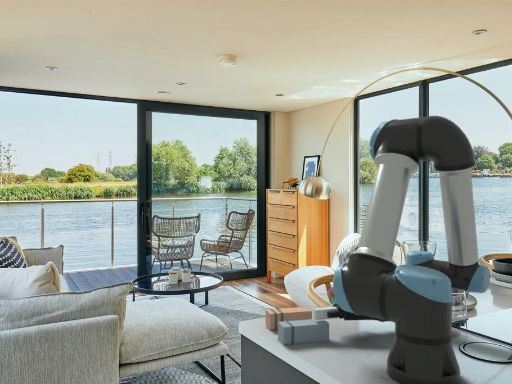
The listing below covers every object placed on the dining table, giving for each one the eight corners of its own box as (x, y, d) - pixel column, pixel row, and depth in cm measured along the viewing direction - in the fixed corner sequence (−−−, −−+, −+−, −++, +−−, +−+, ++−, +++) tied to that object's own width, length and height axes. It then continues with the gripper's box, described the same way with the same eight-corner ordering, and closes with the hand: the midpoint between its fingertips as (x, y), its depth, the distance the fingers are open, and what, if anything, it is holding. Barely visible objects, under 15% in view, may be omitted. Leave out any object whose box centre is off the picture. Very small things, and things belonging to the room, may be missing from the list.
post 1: (306, 306, 133) (265, 309, 130) (312, 310, 129) (270, 313, 125) (305, 321, 133) (265, 325, 130) (312, 326, 129) (270, 330, 125)
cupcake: (336, 311, 144) (336, 275, 144) (322, 304, 152) (322, 270, 151) (357, 308, 147) (357, 273, 147) (342, 302, 155) (342, 268, 155)
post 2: (322, 317, 122) (278, 321, 118) (329, 323, 117) (283, 327, 114) (321, 334, 122) (277, 339, 118) (329, 340, 117) (283, 345, 114)
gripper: (403, 327, 119) (325, 336, 112) (377, 313, 132) (305, 320, 125) (403, 300, 119) (325, 307, 112) (377, 289, 131) (305, 294, 125)
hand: (314, 314), depth 119 cm, fingers closed
